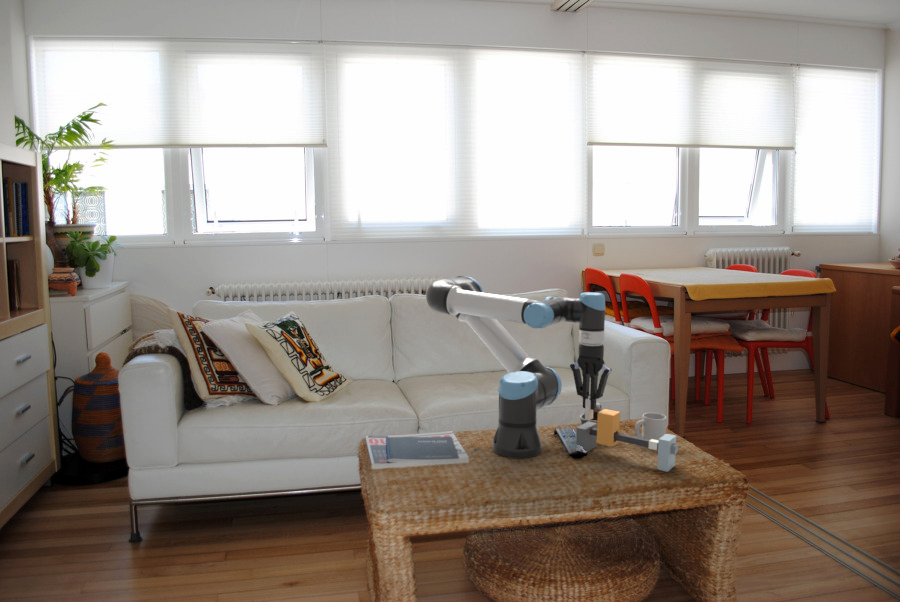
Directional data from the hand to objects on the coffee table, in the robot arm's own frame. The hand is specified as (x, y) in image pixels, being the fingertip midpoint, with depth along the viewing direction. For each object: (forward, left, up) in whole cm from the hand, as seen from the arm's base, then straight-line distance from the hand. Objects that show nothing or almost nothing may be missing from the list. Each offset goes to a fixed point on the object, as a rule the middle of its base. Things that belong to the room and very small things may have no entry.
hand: (589, 418), depth 204 cm
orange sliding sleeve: (+6, 0, -6) cm, 9 cm away
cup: (+13, +17, -10) cm, 24 cm away
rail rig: (+12, 0, -10) cm, 15 cm away
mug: (-4, +13, -10) cm, 17 cm away
